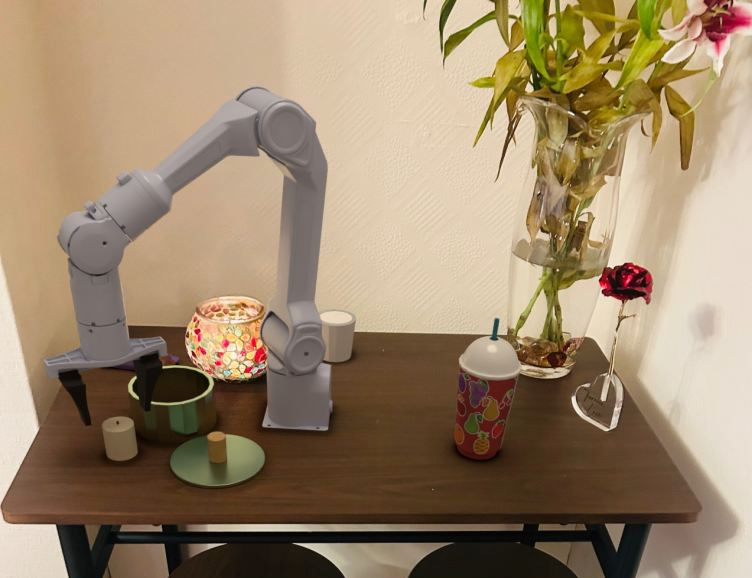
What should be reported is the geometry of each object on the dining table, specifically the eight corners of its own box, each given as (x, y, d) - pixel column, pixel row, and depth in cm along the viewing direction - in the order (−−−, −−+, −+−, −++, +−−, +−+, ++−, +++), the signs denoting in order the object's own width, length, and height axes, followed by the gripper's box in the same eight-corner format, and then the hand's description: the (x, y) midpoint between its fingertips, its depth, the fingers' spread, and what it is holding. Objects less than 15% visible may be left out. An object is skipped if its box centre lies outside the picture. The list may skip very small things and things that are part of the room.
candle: (141, 448, 106) (137, 414, 103) (133, 465, 102) (128, 430, 99) (112, 447, 105) (106, 412, 102) (103, 463, 102) (97, 428, 99)
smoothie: (511, 441, 113) (534, 313, 102) (499, 471, 106) (523, 337, 95) (456, 429, 115) (473, 302, 104) (440, 457, 108) (457, 324, 97)
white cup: (314, 346, 136) (314, 308, 132) (353, 346, 136) (354, 309, 132) (315, 363, 130) (315, 324, 126) (356, 364, 131) (357, 325, 127)
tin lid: (270, 443, 109) (270, 414, 106) (258, 494, 99) (257, 465, 96) (182, 438, 108) (179, 409, 106) (160, 489, 98) (156, 459, 96)
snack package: (98, 357, 123) (111, 344, 127) (100, 368, 124) (112, 355, 128) (169, 365, 122) (179, 351, 126) (170, 376, 123) (180, 362, 127)
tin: (222, 406, 116) (220, 367, 113) (208, 447, 107) (204, 407, 103) (145, 401, 116) (140, 363, 112) (123, 442, 107) (117, 402, 103)
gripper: (148, 295, 99) (159, 389, 107) (29, 315, 92) (50, 414, 99) (169, 315, 94) (178, 412, 102) (45, 337, 87) (65, 440, 95)
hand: (116, 415), depth 100 cm, fingers open, 7 cm apart
